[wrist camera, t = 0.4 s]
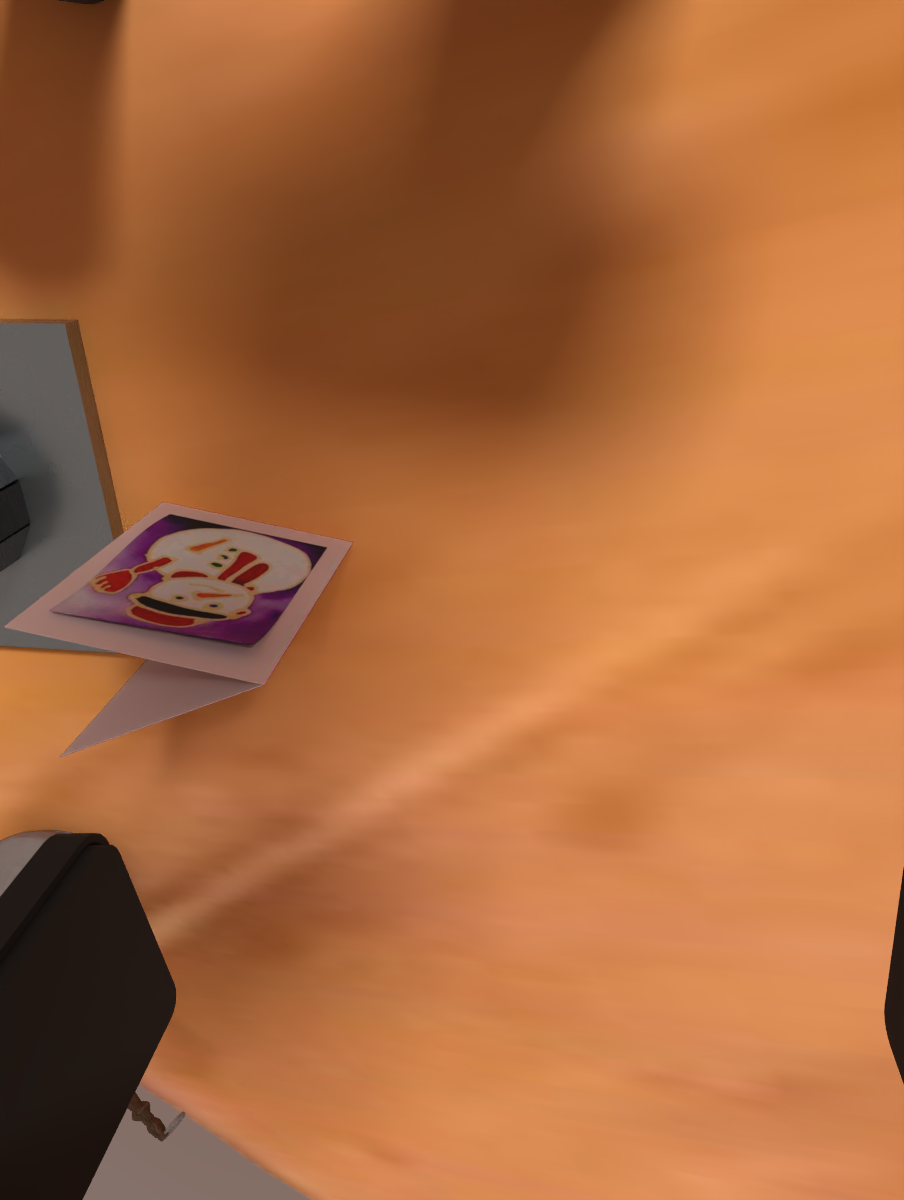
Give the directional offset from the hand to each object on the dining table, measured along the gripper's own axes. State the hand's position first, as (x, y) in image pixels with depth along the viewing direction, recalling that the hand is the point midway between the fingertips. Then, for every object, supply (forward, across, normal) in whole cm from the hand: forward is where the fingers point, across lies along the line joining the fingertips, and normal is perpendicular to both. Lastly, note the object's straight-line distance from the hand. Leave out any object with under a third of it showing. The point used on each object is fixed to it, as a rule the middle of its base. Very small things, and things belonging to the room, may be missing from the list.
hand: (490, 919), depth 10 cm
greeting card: (+36, +19, +10) cm, 42 cm away
